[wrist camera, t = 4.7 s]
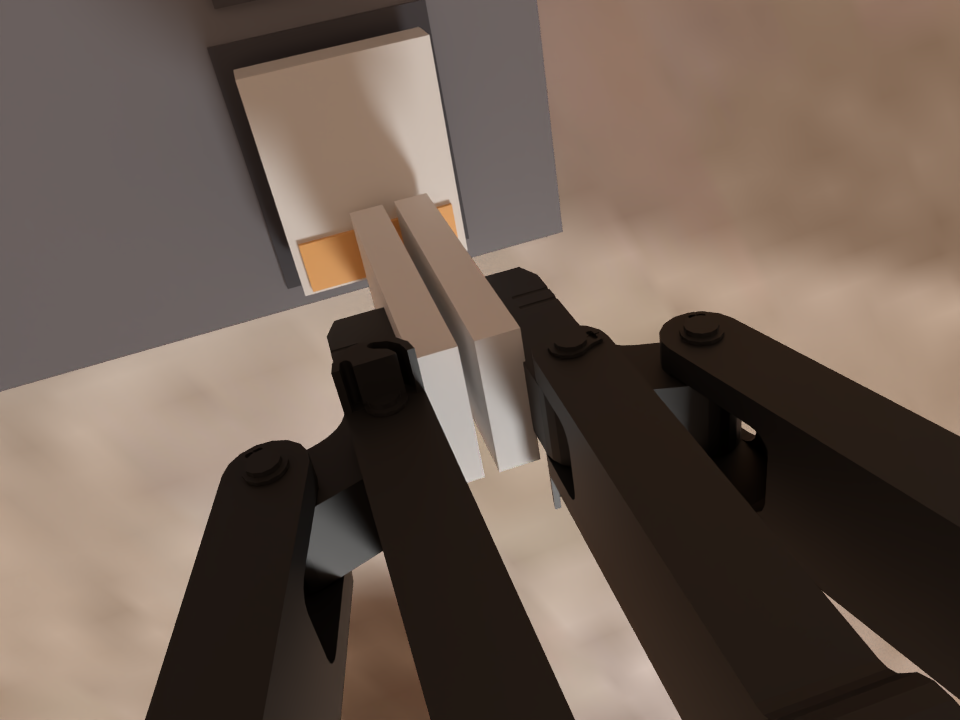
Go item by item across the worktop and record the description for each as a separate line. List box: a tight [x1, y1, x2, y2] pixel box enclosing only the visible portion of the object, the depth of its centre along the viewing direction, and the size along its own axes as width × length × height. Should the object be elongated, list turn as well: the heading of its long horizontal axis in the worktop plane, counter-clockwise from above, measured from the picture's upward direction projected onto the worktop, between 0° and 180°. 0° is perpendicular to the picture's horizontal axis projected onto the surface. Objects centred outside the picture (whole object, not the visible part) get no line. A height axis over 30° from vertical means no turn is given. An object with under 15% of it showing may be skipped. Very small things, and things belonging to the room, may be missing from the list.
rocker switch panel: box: [0, 0, 563, 392], centre depth 18 cm, size 22×10×3 cm, turn 99°
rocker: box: [233, 27, 468, 296], centre depth 18 cm, size 4×5×1 cm
